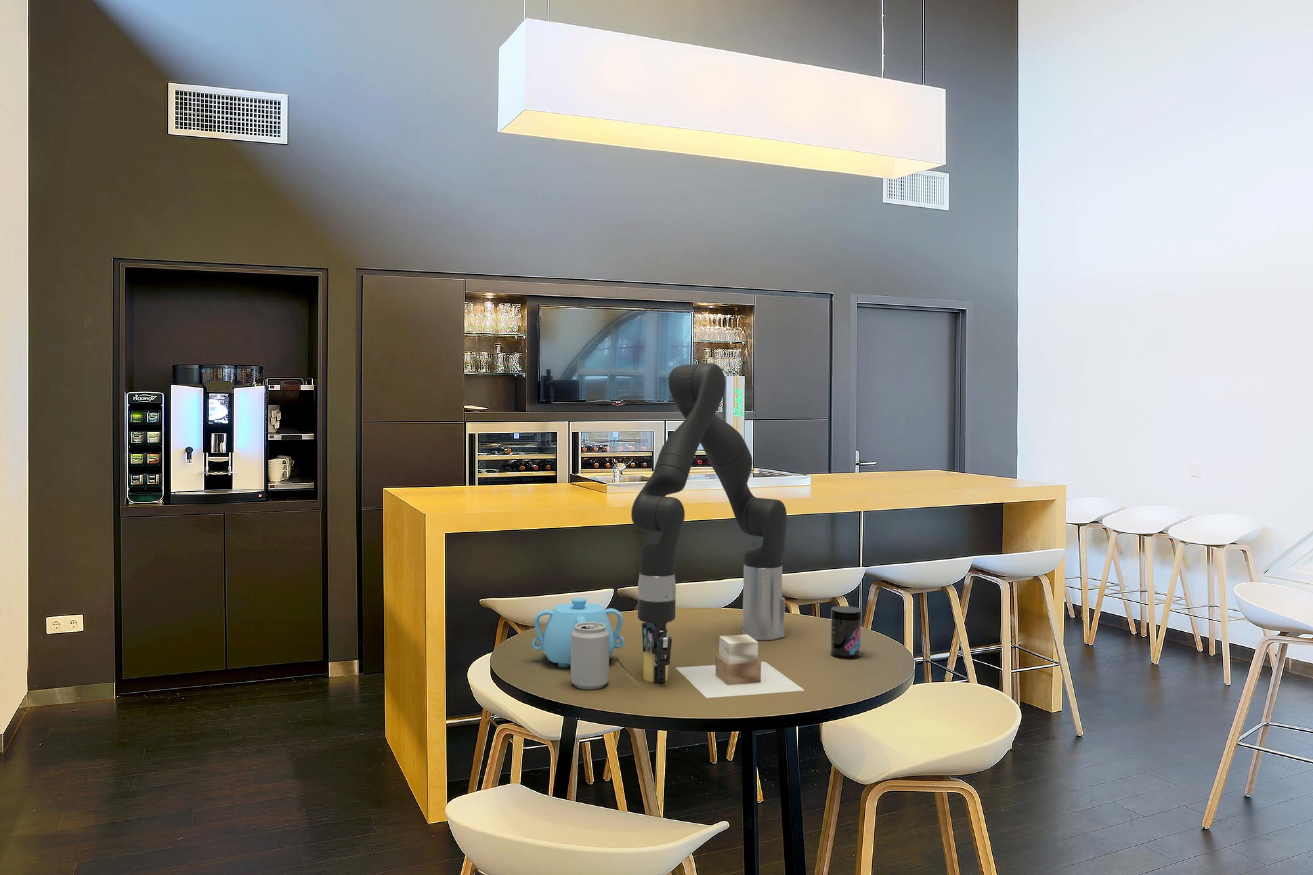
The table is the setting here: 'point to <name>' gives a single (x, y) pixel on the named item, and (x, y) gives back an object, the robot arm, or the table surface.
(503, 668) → the table surface
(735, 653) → the top block
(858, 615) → the supplement container
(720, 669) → the bottom block
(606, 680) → the can
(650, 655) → the cylinder
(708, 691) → the board
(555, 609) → the decorative pot
